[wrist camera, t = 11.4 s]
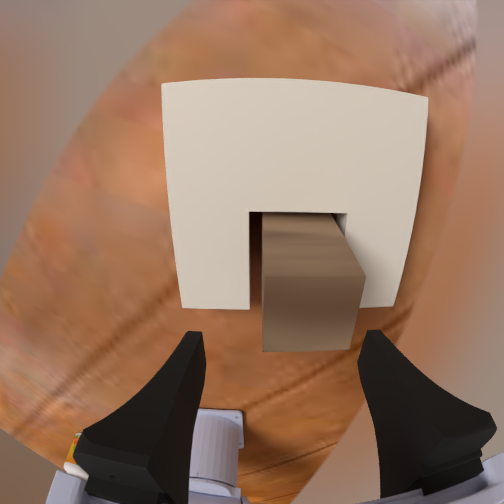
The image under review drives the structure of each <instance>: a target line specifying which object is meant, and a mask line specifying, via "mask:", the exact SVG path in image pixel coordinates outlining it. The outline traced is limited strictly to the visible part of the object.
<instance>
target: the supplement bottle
mask: <svg viewBox="0 0 504 504" xmlns="http://www.w3.org/2000/svg"><path fill="white" fill-rule="evenodd" d="M81 434H82V433H77V434H76V435H75V437H74V440H73V442H72V445H71V447H70V450H69V453H68V455H67V458H66V460H65V463H64V469H65V470H66V471H67V473H68V474H71V475H74V476H77V477H80V478H82V479H84V480H86V481H87V480H88V477H89V475H88V474H87V473H86V472H85V471H84V470H83V469H82V468H81V467H80V466H79V465H78V464H77V463H76V462H75V461H74V459H73V456H72V455H73V452H74V450H75V447H76V444H77V442H78V439H79V437H80V435H81Z"/></svg>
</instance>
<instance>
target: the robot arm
mask: <svg viewBox="0 0 504 504" xmlns="http://www.w3.org/2000/svg"><path fill="white" fill-rule="evenodd" d="M357 363H358V369H359V375H360V380H361V384H362V387H363V391H364V394H365V397H366V400H367V403H368V407H369V410H370V413H371V416H372V420H373V424H374V428H375V434H376V440H377V448H378V456H379V466H380V489H381V490H380V493H381V495H380V499H377V500H373V501H368V502H362V503H357V504H501V503H502V502H504V452H500V453H498V454H496V455H494V456H492V457H490V458H488V459H486V460H484V461H483V462H481V460H480V457H481V456H482V451H481V448H482V447H483V446H484V445H485V444H486V443H487V442H488V441H489V440H490V439H491V438H492V437H493V435H494V434H495V432H496V430H497V427H496V424H495V422H494V420H493V418H492V416H491V414H490V413H489V412H486V411H484V410H481V409H479V408H477V407H474V406H472V405H470V404H468V403H466V402H464V401H462V400H460V399H458V398H457V397H455V396H453V395H452V394H450V393H448V392H447V391H445V390H444V389H442V388H441V387H439V386H438V385H437V384H436V383H434V382H433V381H432V380H430V379H429V378H428V377H427V376H425V375H424V374H423V373H422V372H421V371H419V369H417V368H416V367H415V366H414V365H413V364H412V363H411V362H410V361H409V360H408V359H407V358H406V357H405V356H404V355H403V354H402V353H401V352H400V351H399V350H398V349H397V348H396V347H395V346H394V345H393V343H392V342H391V341H390V340H389V339H388V338H387V337H386V336H385V335H384V334H383V333H382V332H381V331H380V330H367V332H366V336H365V339H364V342H363V346H362V349H361V352H360V355H359V358H358V361H357ZM205 372H206V358H205V351H204V343H203V336H202V332H197V331H188V332H186V334H185V335H184V337H183V338H182V340H181V341H180V343H179V345H178V346H177V347H176V349H175V350H174V352H173V353H172V354H171V356H170V357H169V358H168V360H167V361H166V362H165V364H164V365H163V366H162V367H161V369H160V370H159V371H158V372H157V373H156V374H155V376H154V377H153V378H152V379H151V380H150V381H149V382H148V383H147V384H146V385H145V386H144V387H143V388H142V389H141V390H140V391H139V392H138V393H137V394H136V395H135V396H133V397H132V398H131V399H130V400H129V401H128V402H126V403H125V404H124V405H123V406H121V407H120V408H118V409H117V410H116V411H114V412H113V413H111V414H110V415H108V416H107V417H105V418H104V419H102V420H100V421H99V422H97V423H95V424H93V425H91V426H89V427H87V428H85V429H84V430H83V432H82V434H81V435H80V437H79V439H78V442H77V444H76V447H75V450H74V452H73V455H72V456H73V459H74V461H75V462H76V463H77V464H78V465H79V466H80V467H81V468H82V469H83V470H84V471H85V472H86V473H87V474H88V475H89V477H88V480H87V481H86V480H84V479H82V478H80V477H77V476H74V475H71V474H68V473H65V472H63V471H60V470H57V472H56V474H55V477H54V480H53V483H52V486H51V489H50V492H49V495H48V498H47V501H46V504H251V503H250V501H249V500H248V499H247V497H246V496H242V495H241V488H237V471H238V451H239V449H241V448H244V436H243V417H242V412H241V411H238V410H215V409H200V408H199V405H200V400H201V396H202V392H203V387H204V381H205Z"/></svg>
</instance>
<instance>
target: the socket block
mask: <svg viewBox="0 0 504 504" xmlns="http://www.w3.org/2000/svg"><path fill="white" fill-rule="evenodd" d="M162 113H163V133H164V150H165V164H166V177H167V188H168V199H169V209H170V219H171V228H172V236H173V245H174V253H175V260H176V268H177V275H178V282H179V289H180V295H181V302H182V308H200V309H250V212H319V213H337V216H336V224H337V225H338V227H339V229H340V231H341V232H342V234H343V236H344V237H345V239H346V241H347V243H348V244H349V246H350V248H351V250H352V251H353V253H354V255H355V257H356V259H357V260H358V262H359V264H360V266H361V268H362V269H363V271H364V273H365V275H366V280H365V285H364V289H363V294H362V298H361V303H360V307H359V308H367V307H387V306H393V305H394V302H395V298H396V295H397V291H398V288H399V284H400V280H401V276H402V272H403V268H404V264H405V260H406V256H407V252H408V247H409V243H410V238H411V233H412V228H413V223H414V218H415V213H416V207H417V201H418V195H419V189H420V182H421V175H422V167H423V159H424V150H425V140H426V128H427V114H428V97H423V96H419V95H414V94H410V93H405V92H399V91H394V90H388V89H383V88H376V87H370V86H363V85H355V84H347V83H338V82H328V81H317V80H302V79H279V78H232V79H209V80H194V81H183V82H172V83H163V84H162Z"/></svg>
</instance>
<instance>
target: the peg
mask: <svg viewBox="0 0 504 504" xmlns="http://www.w3.org/2000/svg"><path fill="white" fill-rule="evenodd" d="M261 266H262V339H263V352H303V351H330V350H348V349H349V347H350V343H351V339H352V335H353V332H354V328H355V324H356V320H357V316H358V311H359V307H360V303H361V298H362V294H363V289H364V285H365V280H366V275H365V273H364V271H363V269H362V268H361V266H360V264H359V262H358V260H357V259H356V257H355V255H354V253H353V251H352V250H351V248H350V246H349V244H348V243H347V241H346V239H345V237H344V236H343V234H342V232H341V231H340V229H339V227H338V225H337V224H336V222H335V220H334V219H333V217H332V215H331V214H330V213H319V212H262V260H261Z"/></svg>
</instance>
